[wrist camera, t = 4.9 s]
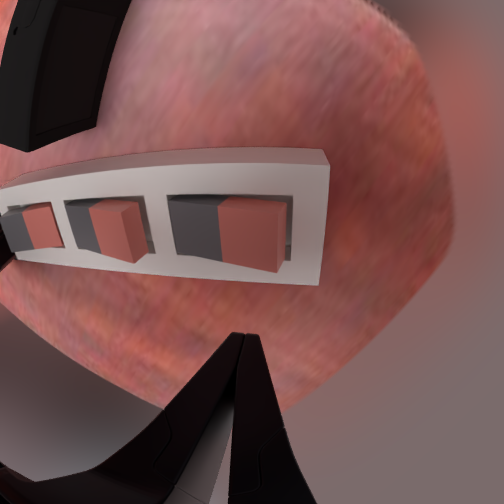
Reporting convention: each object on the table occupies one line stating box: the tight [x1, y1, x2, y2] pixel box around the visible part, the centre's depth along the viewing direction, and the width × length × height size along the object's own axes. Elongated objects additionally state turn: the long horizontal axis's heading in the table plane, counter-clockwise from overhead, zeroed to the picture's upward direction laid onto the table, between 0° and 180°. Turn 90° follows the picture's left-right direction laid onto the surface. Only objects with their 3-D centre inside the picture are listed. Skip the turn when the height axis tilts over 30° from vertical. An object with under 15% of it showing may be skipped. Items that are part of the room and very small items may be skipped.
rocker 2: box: [64, 198, 149, 264], centre depth 16 cm, size 6×3×1 cm, turn 92°
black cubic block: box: [0, 0, 131, 152], centre depth 11 cm, size 10×5×7 cm, turn 160°
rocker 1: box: [0, 201, 64, 252], centre depth 17 cm, size 6×3×1 cm, turn 92°
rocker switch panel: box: [0, 147, 330, 285], centre depth 18 cm, size 29×7×4 cm, turn 92°
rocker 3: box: [168, 194, 287, 273], centre depth 15 cm, size 6×3×1 cm, turn 92°
